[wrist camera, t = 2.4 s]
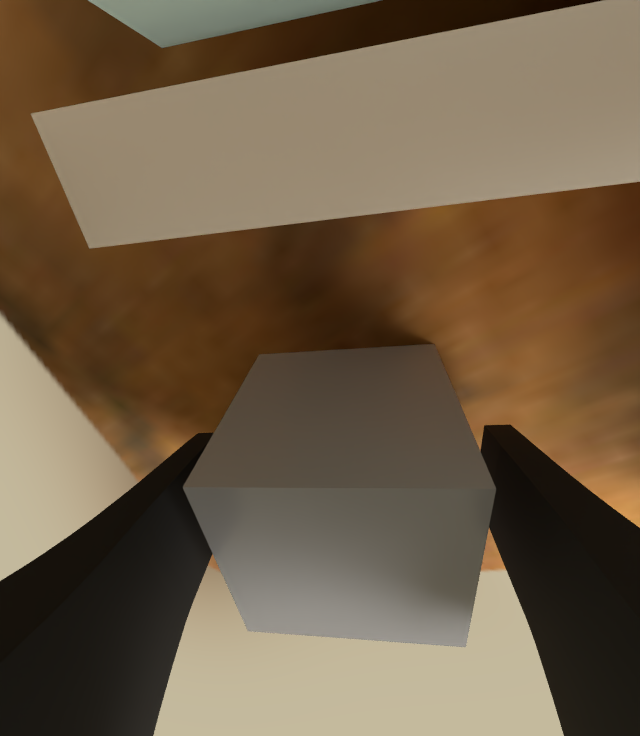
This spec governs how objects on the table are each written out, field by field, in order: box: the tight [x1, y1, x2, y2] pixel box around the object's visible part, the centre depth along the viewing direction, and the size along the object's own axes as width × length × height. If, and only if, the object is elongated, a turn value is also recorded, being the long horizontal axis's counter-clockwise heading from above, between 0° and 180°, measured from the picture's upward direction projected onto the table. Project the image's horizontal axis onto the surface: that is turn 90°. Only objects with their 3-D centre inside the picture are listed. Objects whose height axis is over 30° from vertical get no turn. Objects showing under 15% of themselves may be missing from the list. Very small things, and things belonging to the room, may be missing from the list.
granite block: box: [183, 344, 496, 647], centre depth 9 cm, size 5×5×5 cm
